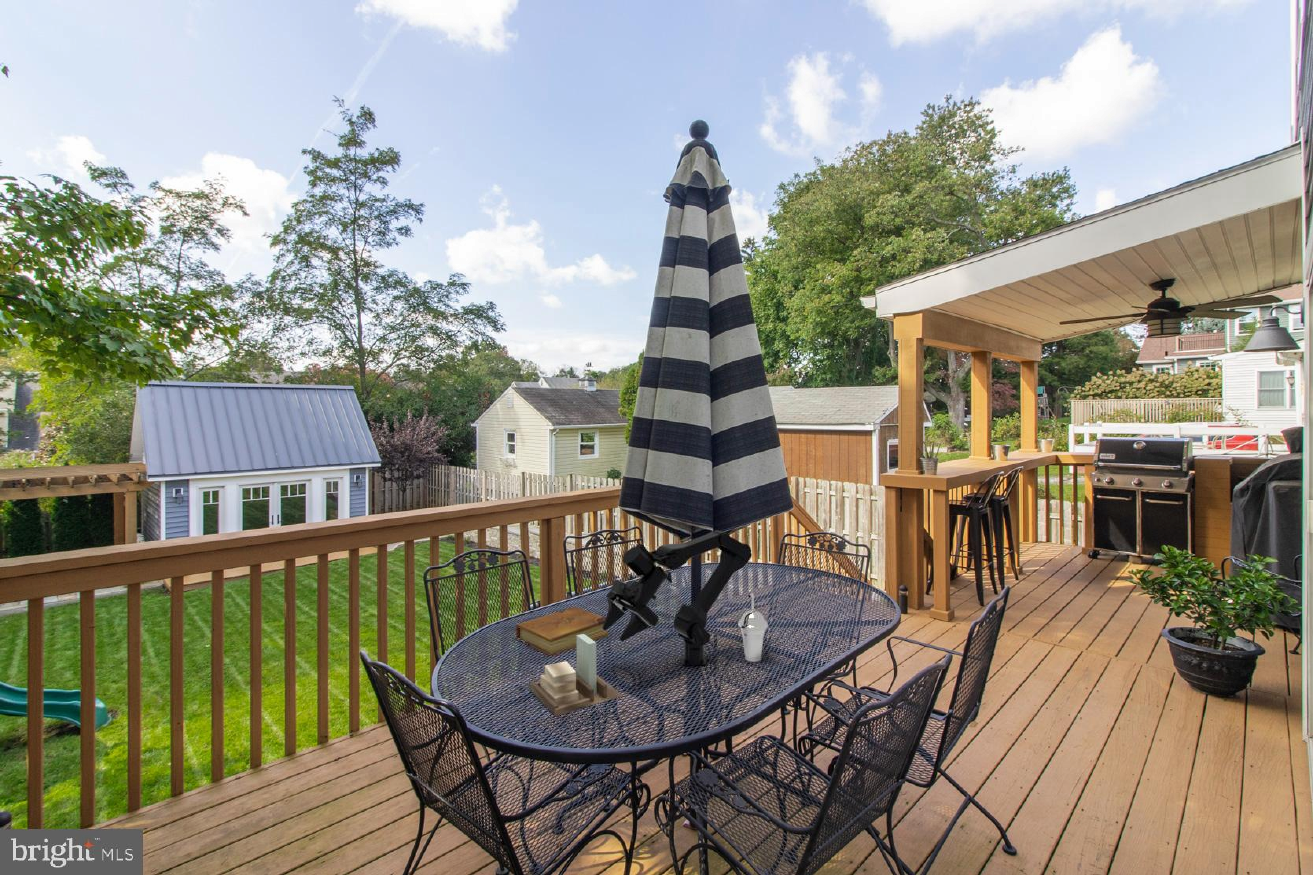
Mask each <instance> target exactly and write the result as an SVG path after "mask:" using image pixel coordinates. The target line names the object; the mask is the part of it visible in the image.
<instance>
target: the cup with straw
mask: <svg viewBox="0 0 1313 875" xmlns="http://www.w3.org/2000/svg"><path fill="white" fill-rule="evenodd" d="M754 597H755V595H754V593H753V592H751V593H750V594H748V598H751V600H750V601H751V607H750V608H751V609H750V610H748V611H745V612H744V613H743V614H742V616H741V618H740V619H739V620H738V623H737V625H738V627H739V628H740V631H741V635H742V644H743V652H744V653H743V654H744V656H745V657H744V659H745V660H746V661H748V662H753V663H755V662H760V661H761V660H762V652H763V645H764V636H765V633H766V629H767V628H768V627H769V624H768V622H767V621H766V620H765V617H764V616H763V614H762V612H759V611H758V610H755V608H754V607H755V602H754V601H755V598H754Z"/></svg>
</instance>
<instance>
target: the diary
mask: <svg viewBox="0 0 1313 875" xmlns="http://www.w3.org/2000/svg"><path fill="white" fill-rule="evenodd" d="M605 619H606V616H602V615H599V614H597V613H595V612H591V611H588V610H586V609H583V608H580V607H578V606H573V607H570V608H566V609H564V610H559V611H557V612H556V611H555V612H552V613H550V614H547V615H544V616H543V615H542V616H539V617H537V618H533V619H530V620H527V621H524V622H523V621H522V622H520V623H517V624H516V625H515V639H516V638H517V639H518V638H521V639H519V640H526V641H525V642H524V643H526V644H529V645H530V646H532V647H533V649H534V648H536V649H538V650H537V651H539V652H541V651H542V652H541V653H543V652H544V653H543V654H545V653H546V655H547V654H548V655H547V656H549V655H550V656H549V657H552V656H551V655H553V656H556V655H558V654H561V653H563V652H562V651H564V652H566V650H567V651H569V649H570V650H571V649H575V648H577V635H581V634H585V635H586V636H588V637H589V638H590V639H592V640H595V641H598V640H600V639H603V638H606V637H609V636H611V633H610V632H608V631H607V630H608V629H607V630H604V629H603V628H602V627H603V625H604V622H605ZM608 635H609V636H608ZM602 637H603V638H602ZM597 639H598V640H597ZM524 643H523V644H524ZM526 644H525V645H526ZM530 646H529V647H530ZM532 647H531V648H532ZM536 649H535V650H536ZM560 652H561V653H560ZM557 653H558V654H557Z"/></svg>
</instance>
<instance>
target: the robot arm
mask: <svg viewBox="0 0 1313 875" xmlns="http://www.w3.org/2000/svg"><path fill="white" fill-rule="evenodd" d="M715 549H718V550H720V554H719V563H718V565H717V566H716V568H715V569H714V571H713V573H711V575H710V577H709V578H708V580H707V582H706V583H705V584H704V585H703V587H702V588H701V590H700V592H699V593H698V595H697V596H696V598H695V599H694V601H693V602H692V603H691V604H689V605H687V604H684V603H683V604H682V605H681V606H680V609H679V610H678V611H677V613H675V614H674V616H675V618H674V619H673V628H674V631H675V632H677V635H678V637H679V638H681V639H683V654H681V660H682V665H683V666H706V665H707V661H706V657H705V654H704V653H705V649H704V648H705V647H704V646H705V645H706V644H709V643H710V641H711V636H712V635H711V633H710V632H708V630H706V629H705V627H706V625H707V618H708V613H709V611H710V610H711V608H712V606H713V605H714V603H715V602H716V600H717V599H718V598H719V596H720V594H721V593H722V592H723V590H724V589H725V588H726V587H725V586H726V585H727V584H728V582H729V580H730V579H731V578H732V577H733V575H734V574H735V573H736V572H737V571H739V570H741V569H743V568H744V567H746V565H747V564H748V563H749V561H750V560H751V558H752V556H753V555H752V548H751V547H750V545H749V544H747V543H744V542H740V541H739V540H738V539H735V538H734V537H732V535H729V534H728V533H727V532H724V531H721V530H713V531H711V532H710V533H707V534H704V535H702V536H699V537H696V538H693V539H691V540H688V541H685V542H682V543H669V544H662V545H660V546H658V547H657V548H656V549H654V550H651V551H648V549H647V548H646V546H645V545H644V544H642V543H641V542H640V543H637V544H636V546H633V547H631V548H629V549H627V550H626V552H625V553H624V554H623V557H622V562H623V563H624V565H625V566H627V567H628V568H629V569H630V570H631V572H632V573H634V574H635V575H636V576H638V577H639V576H640V578H639V579H638V580H637V581H636V580H634V581H629V580H628V582H624V581H621V580H619V579H616V578H614V580H613V583H612V585H611V588H610V590H609V592H608V593H607V594H606V595H605V597H606V602H607V604H608V610H607V614H606V616H605V617H606V619H605V622H604V625H603V627H602V628H603V629H604V630H608V629H610V628H611V627H612V626H613V625H614V624H615V623H616V622H617V621H619V620H620V619H622V617H624V616H625V615H626V613H625V612H626V611H628V610H629V611H631V612H630V620H629V622H628V623H627V625H626V626H625V628H624V630H623V632H622V633H621V635H620V637H619V640H620V641H621V642H624V641H626V640H628V639H630V638H631V637H633V636H635V635H636V634H639V633H640V632H643V631H645V630H647V629H651V627H652V628H655V627H656V626H657V625H658V623H659V616H658V615H657V614H656V613H655V612H654V610H652V609H651V608H650V607H649V606H648V604H649V603H650V601H651V600H652V601H656V600H657V596H656V595H655V594H656V593H657V592H658V591H659V589H660V587H661V586H662V585H663V584H664V583H665V582H667V583H668V584H672V583H673V578H672V572H670V571H669V570H673V571H674V570H677V569H679V568H681V567H682V566H684V565H685V564H686V563H687V562H688V561H689V560H690V559H692V558H694V557H697V556H699V555H701V554H704V553H707V552H709V551H713V550H715ZM655 564H657V565H655ZM664 568H666V569H668V570H665V569H664Z"/></svg>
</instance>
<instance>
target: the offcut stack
mask: <svg viewBox="0 0 1313 875" xmlns="http://www.w3.org/2000/svg"><path fill="white" fill-rule="evenodd" d="M576 675H577V671H576V670H575V669H574V668H573V667H572V666H571V664H570V663H569V662H568V661H561V662H557V663H552V664H551V663H550V664H547V665H544V673H543V674H541V675H540V677H539V679H540V680H539V681H540V685H541V689H542V690H543V691H544V692H545V693H546V694H547V695H548V696H549V697H550V698H551V699H552V700H553V701H554V702H555V703H556V704H557V705H558V706H563V705H566V704H569V703H573V702H576V701H578V691H577V690H576Z"/></svg>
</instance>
